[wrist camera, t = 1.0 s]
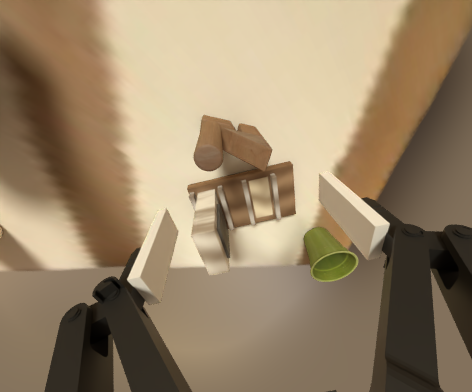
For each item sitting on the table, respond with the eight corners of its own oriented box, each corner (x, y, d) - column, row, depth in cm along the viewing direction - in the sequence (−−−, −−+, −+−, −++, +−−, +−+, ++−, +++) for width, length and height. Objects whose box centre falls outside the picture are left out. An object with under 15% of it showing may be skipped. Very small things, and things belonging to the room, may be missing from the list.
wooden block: (251, 143, 41) (271, 184, 26) (200, 133, 39) (189, 170, 24) (256, 126, 39) (281, 158, 24) (203, 114, 37) (193, 140, 22)
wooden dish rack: (188, 185, 45) (176, 232, 31) (289, 161, 44) (322, 199, 30) (206, 228, 52) (202, 282, 39) (293, 209, 51) (320, 257, 38)
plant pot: (292, 227, 55) (308, 259, 45) (334, 215, 54) (359, 245, 44) (297, 253, 61) (312, 286, 52) (335, 243, 60) (357, 275, 51)
